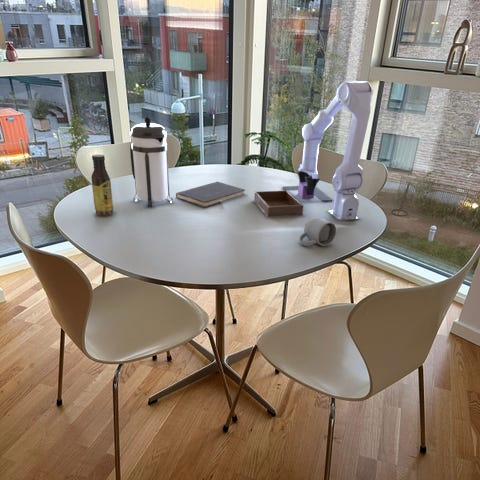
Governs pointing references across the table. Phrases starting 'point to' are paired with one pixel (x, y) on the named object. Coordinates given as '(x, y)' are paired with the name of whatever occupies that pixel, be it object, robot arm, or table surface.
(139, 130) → the coffee press
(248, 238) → the table surface
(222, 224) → the table surface
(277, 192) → the brown wooden tray
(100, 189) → the sauce bottle
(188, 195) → the hardcover book
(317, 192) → the mat
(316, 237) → the ceramic mug
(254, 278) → the table surface
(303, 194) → the block
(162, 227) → the table surface
